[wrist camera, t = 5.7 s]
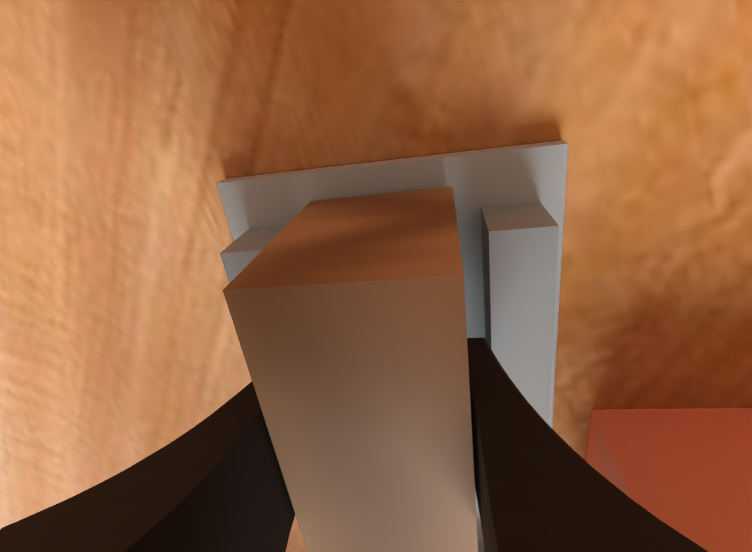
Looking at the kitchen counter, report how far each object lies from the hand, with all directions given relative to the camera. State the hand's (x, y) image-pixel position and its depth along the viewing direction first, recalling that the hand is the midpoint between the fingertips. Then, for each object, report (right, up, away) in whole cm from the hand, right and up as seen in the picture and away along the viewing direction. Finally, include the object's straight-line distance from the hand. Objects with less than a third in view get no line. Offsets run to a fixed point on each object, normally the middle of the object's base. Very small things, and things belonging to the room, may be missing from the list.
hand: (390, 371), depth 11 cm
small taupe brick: (0, +1, +2) cm, 2 cm away
